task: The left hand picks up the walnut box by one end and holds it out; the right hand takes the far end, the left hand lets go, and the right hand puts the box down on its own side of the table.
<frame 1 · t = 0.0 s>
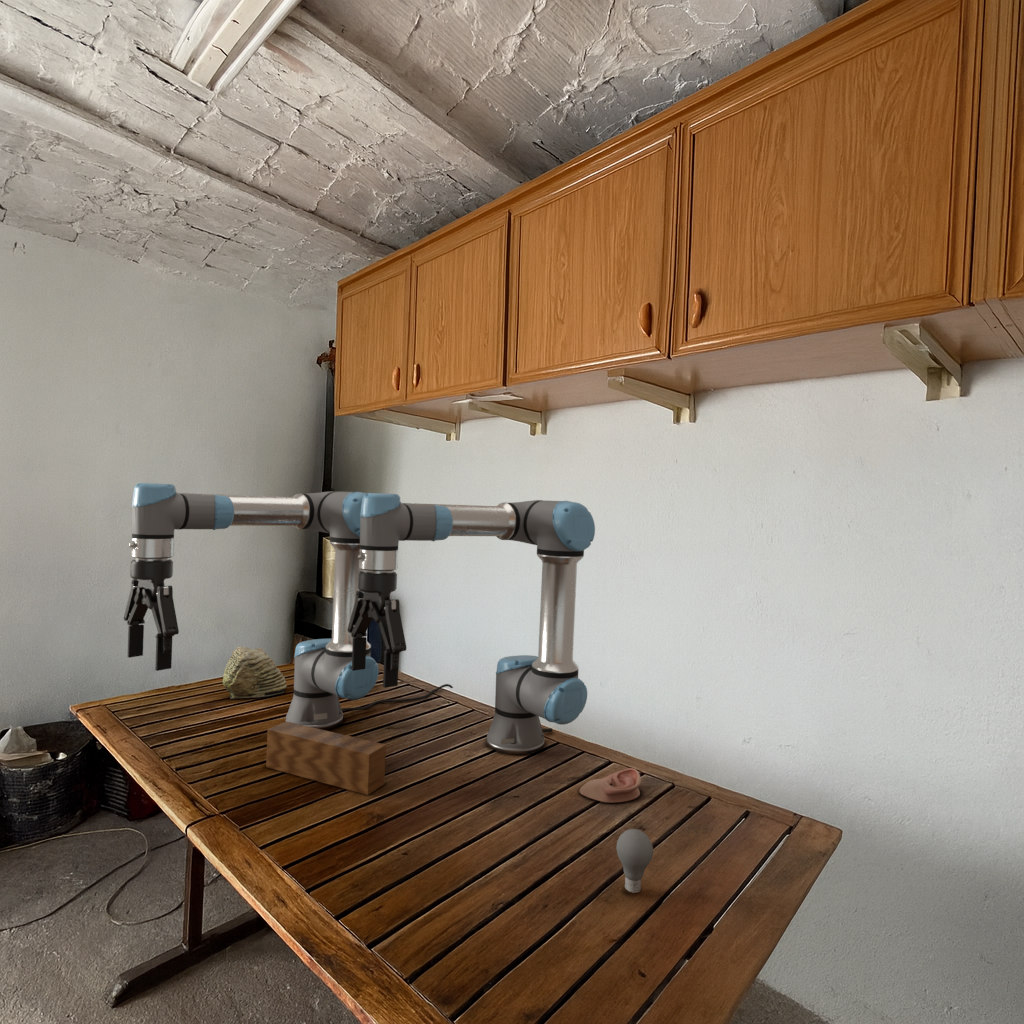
left hand: (148, 662, 129), 28 cm above the table, tool pointing down, fingers open, 13 cm apart
right hand: (373, 677, 126), 28 cm above the table, tool pointing down, fingers open, 13 cm apart
light bulb: (632, 891, 106), on the table
anatomical model: (610, 792, 142), on the table
fossil: (254, 694, 198), on the table
box: (324, 775, 144), on the table
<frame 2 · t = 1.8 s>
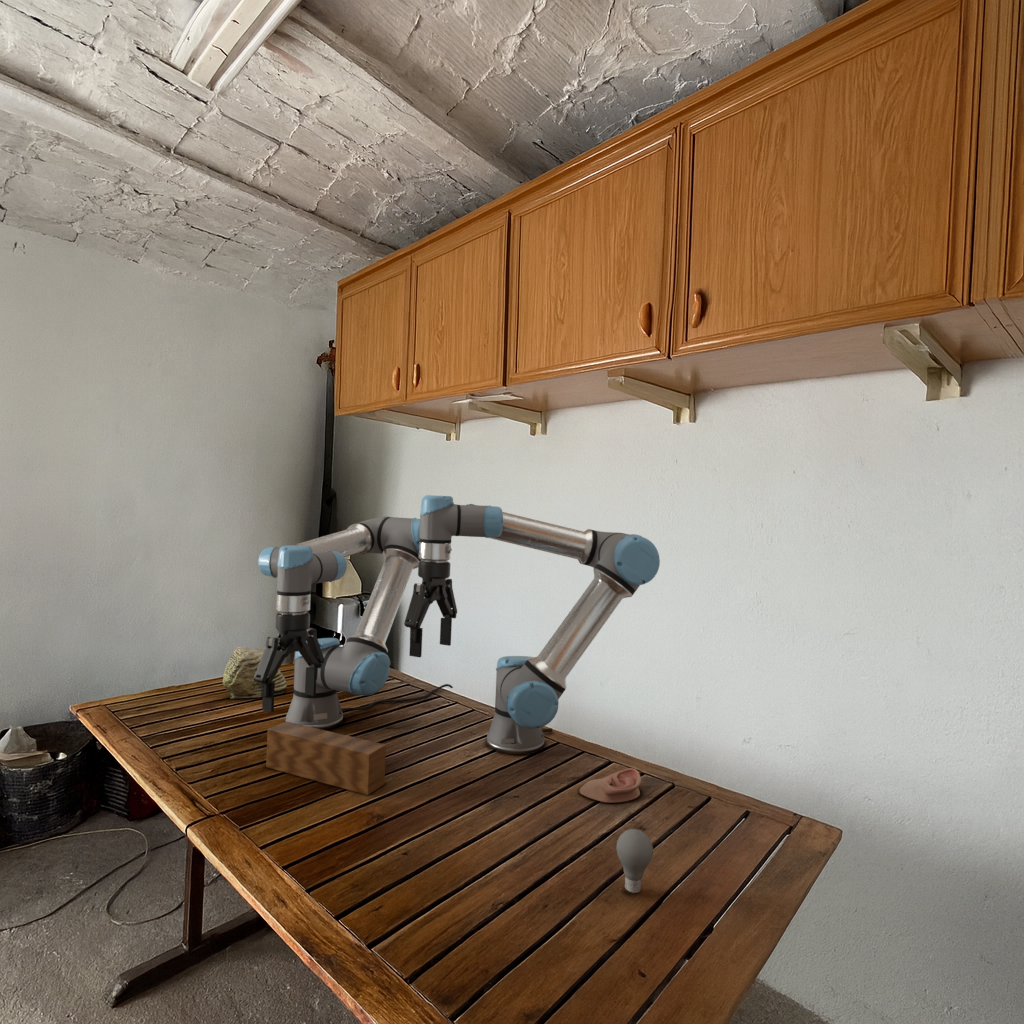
left hand: (290, 702, 148), 15 cm above the table, tool pointing down, fingers open, 13 cm apart
right hand: (430, 650, 150), 28 cm above the table, tool pointing down, fingers open, 13 cm apart
nothing on the table moved.
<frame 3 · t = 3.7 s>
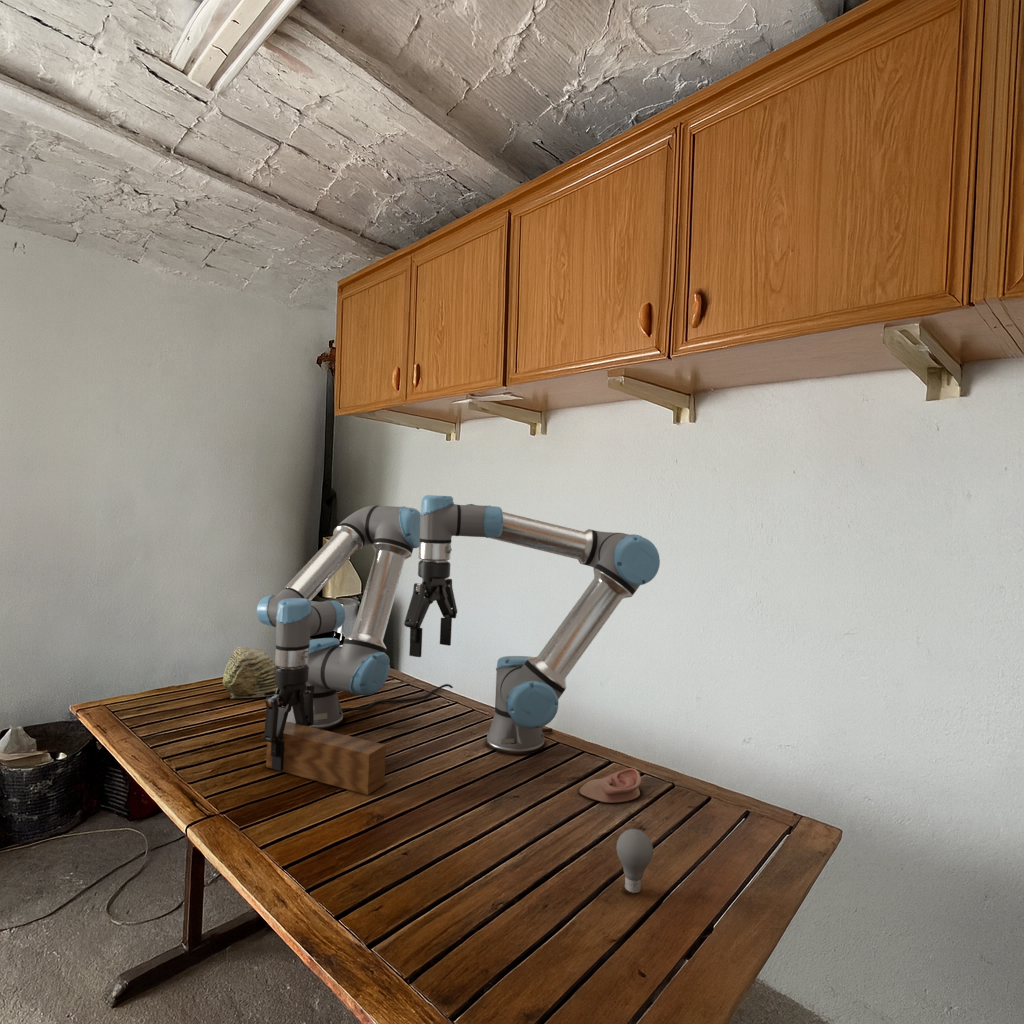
left hand: (288, 763, 148), 1 cm above the table, tool pointing down, fingers closed on box, 6 cm apart
right hand: (430, 650, 150), 28 cm above the table, tool pointing down, fingers open, 13 cm apart
box: (324, 775, 144), on the table, touching left hand
everything else where it was.
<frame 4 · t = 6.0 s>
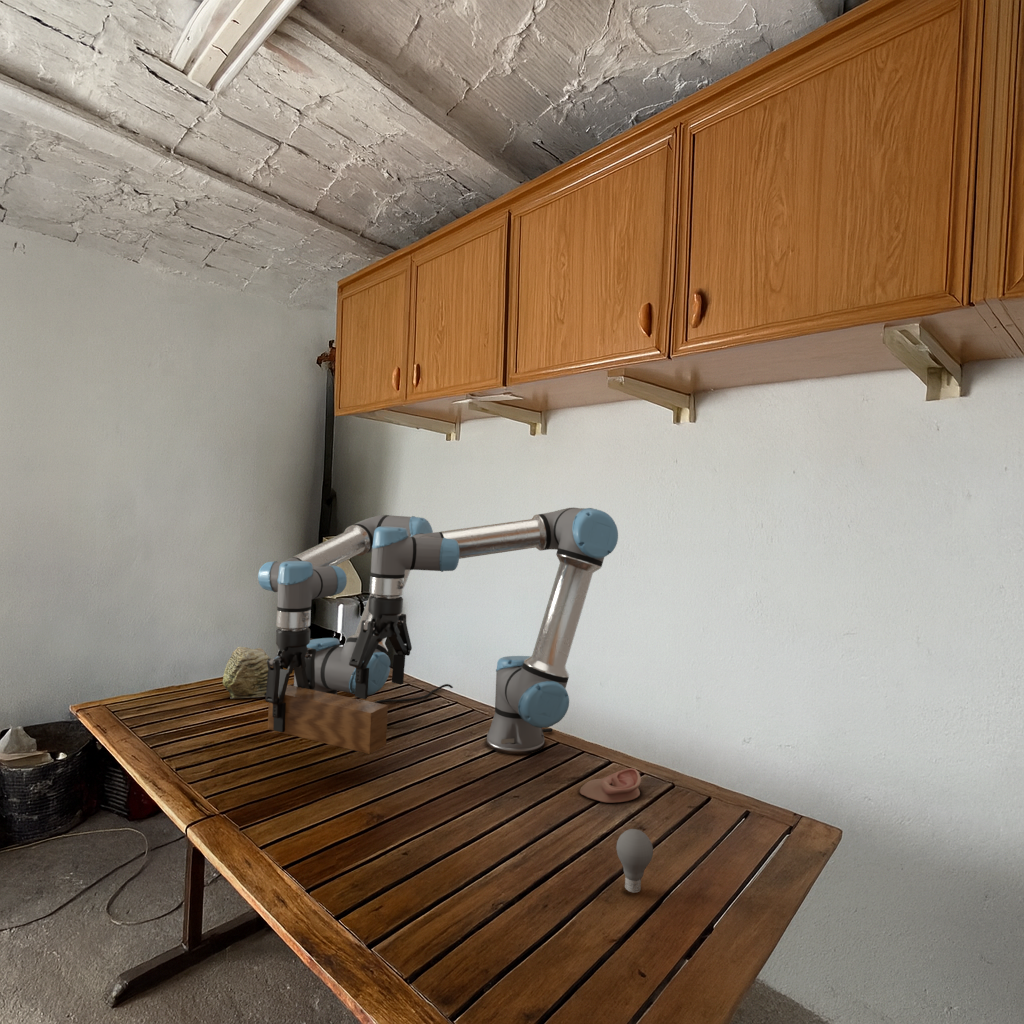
left hand: (289, 725, 148), 9 cm above the table, tool pointing down, fingers closed on box, 6 cm apart
right hand: (380, 690, 142), 21 cm above the table, tool pointing down, fingers open, 13 cm apart
box: (325, 736, 144), point 9 cm above the table, touching left hand
everything else where it was.
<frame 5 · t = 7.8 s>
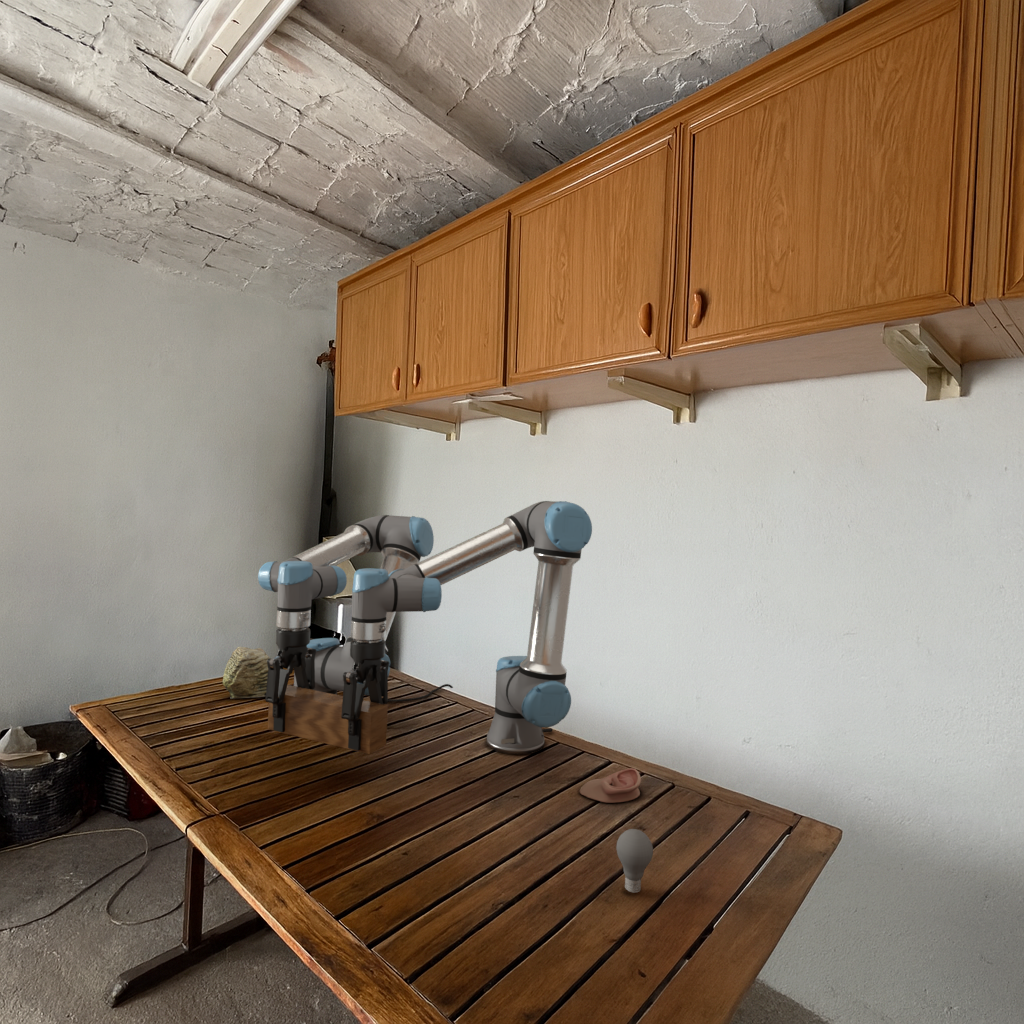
left hand: (289, 725, 148), 9 cm above the table, tool pointing down, fingers closed on box, 6 cm apart
right hand: (364, 743, 140), 9 cm above the table, tool pointing down, fingers closed on box, 6 cm apart
box: (325, 736, 144), point 9 cm above the table, touching left hand, right hand
everything else where it was.
when the left hand's fingers open (9 cm above the table, at t = 8.6 s): box stays where it is, held by the right hand.
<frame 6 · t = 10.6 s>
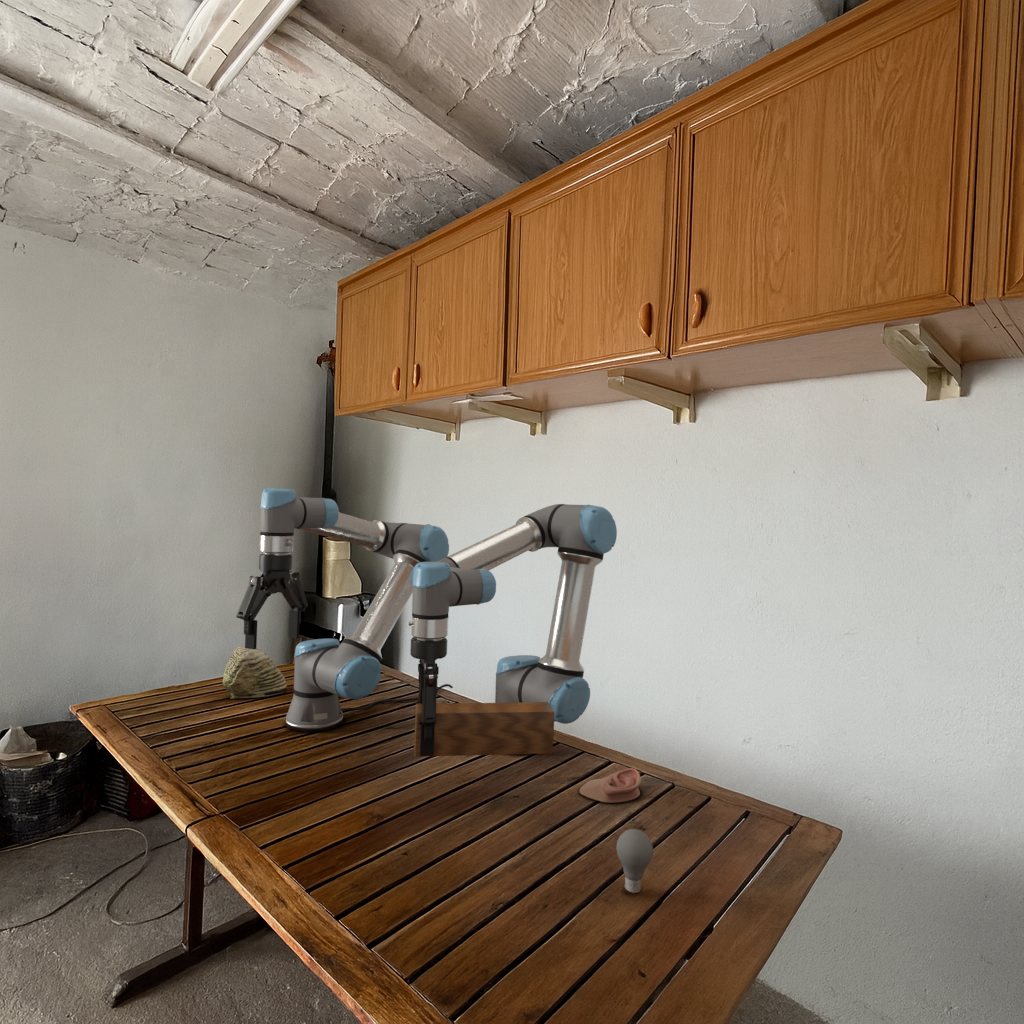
left hand: (272, 643, 150), 28 cm above the table, tool pointing down, fingers open, 13 cm apart
right hand: (425, 747, 131), 12 cm above the table, tool pointing down, fingers closed on box, 6 cm apart
box: (483, 749, 133), point 12 cm above the table, touching right hand
everything else where it was.
when the right hand's fingers open (2 cm above the table, at t = 13.2 s): box drops 1 cm, on the table.
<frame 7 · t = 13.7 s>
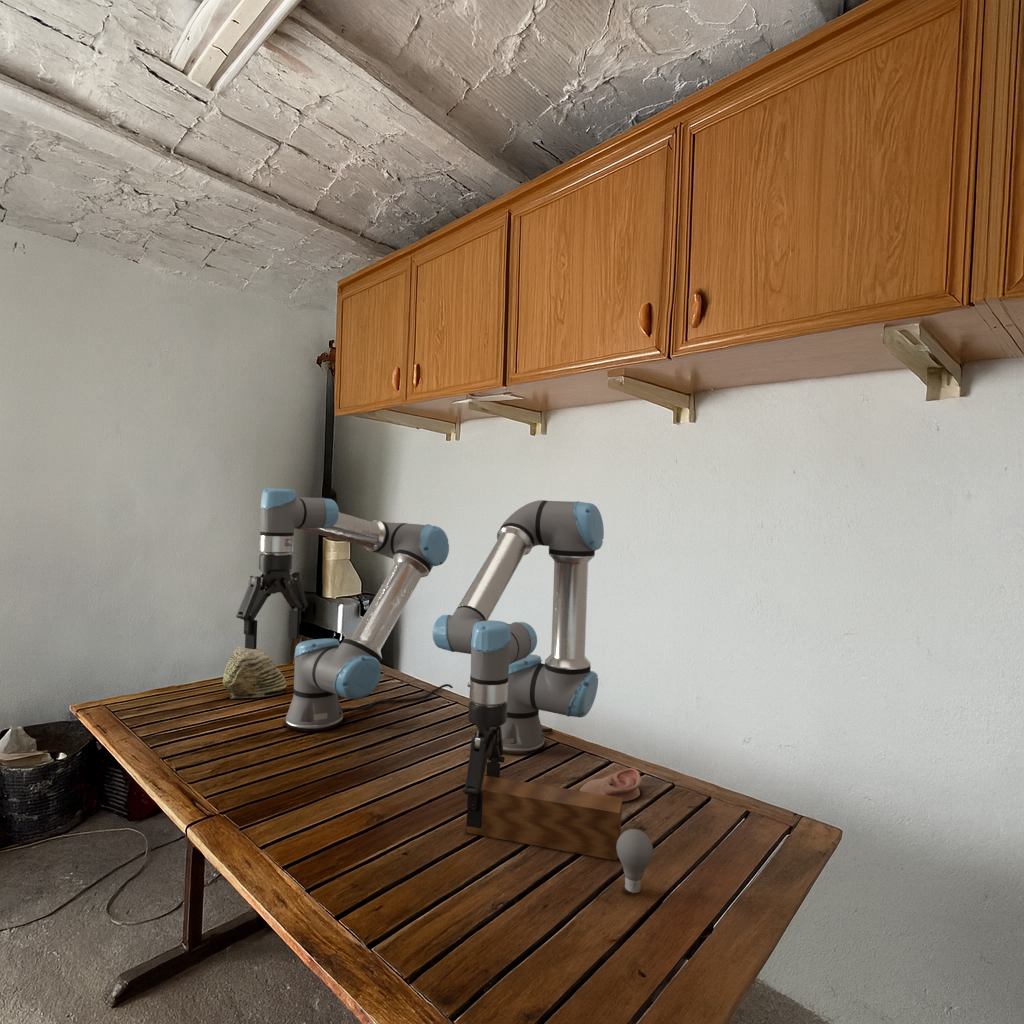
left hand: (272, 643, 150), 28 cm above the table, tool pointing down, fingers open, 13 cm apart
right hand: (483, 809, 124), 3 cm above the table, tool pointing down, fingers open, 13 cm apart
box: (543, 838, 121), on the table
everything else where it was.
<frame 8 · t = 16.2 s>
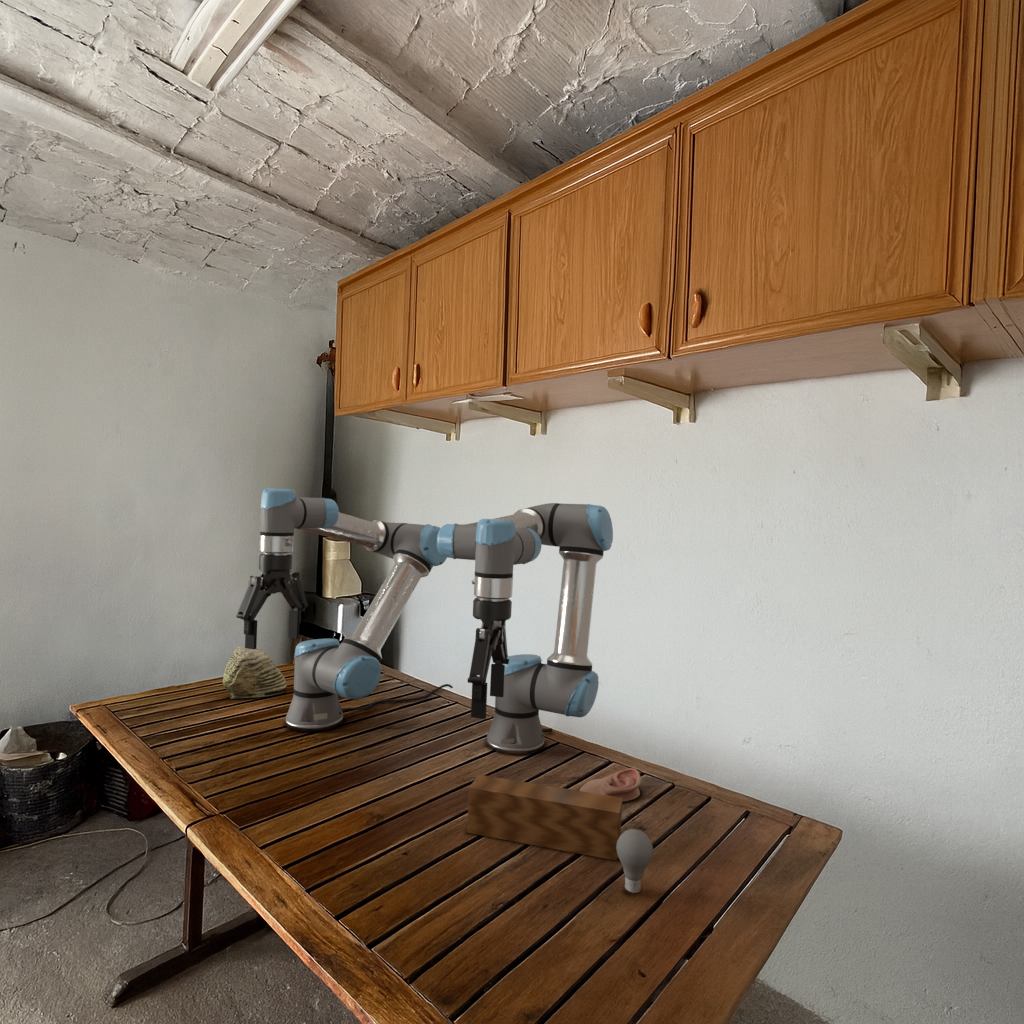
left hand: (272, 643, 150), 28 cm above the table, tool pointing down, fingers open, 13 cm apart
right hand: (487, 706, 124), 24 cm above the table, tool pointing down, fingers open, 13 cm apart
nothing on the table moved.
at the end: box inside the target area (12.1 cm from its centre), on the table; the left hand is holding nothing; the right hand is holding nothing; box at rest at the end (0.0 cm/s) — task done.
